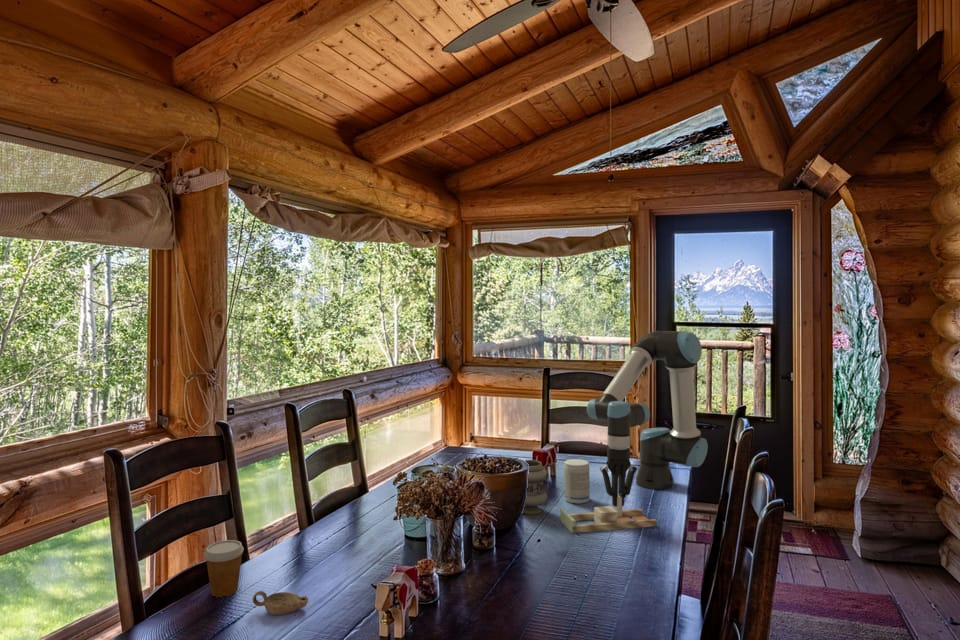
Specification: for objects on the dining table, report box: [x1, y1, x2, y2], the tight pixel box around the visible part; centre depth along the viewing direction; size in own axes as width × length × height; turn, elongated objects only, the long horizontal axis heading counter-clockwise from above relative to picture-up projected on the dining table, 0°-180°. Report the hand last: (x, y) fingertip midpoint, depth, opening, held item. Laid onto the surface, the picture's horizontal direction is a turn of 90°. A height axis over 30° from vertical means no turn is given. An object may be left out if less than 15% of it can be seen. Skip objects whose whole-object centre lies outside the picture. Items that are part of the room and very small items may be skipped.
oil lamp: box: [252, 590, 309, 616], centre depth 147 cm, size 13×8×5 cm, turn 91°
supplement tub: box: [563, 458, 591, 505], centre depth 230 cm, size 10×10×15 cm
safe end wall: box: [559, 508, 576, 534], centre depth 203 cm, size 1×11×4 cm, turn 11°
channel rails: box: [568, 508, 658, 534], centre depth 206 cm, size 30×11×2 cm, turn 101°
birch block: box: [593, 505, 618, 524], centre depth 205 cm, size 6×6×5 cm
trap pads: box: [617, 514, 649, 522], centre depth 208 cm, size 11×8×1 cm
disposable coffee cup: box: [203, 539, 244, 598], centre depth 157 cm, size 10×10×12 cm
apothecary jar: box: [521, 459, 548, 518], centre depth 217 cm, size 12×12×18 cm
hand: (618, 515), depth 206 cm, fingers closed
